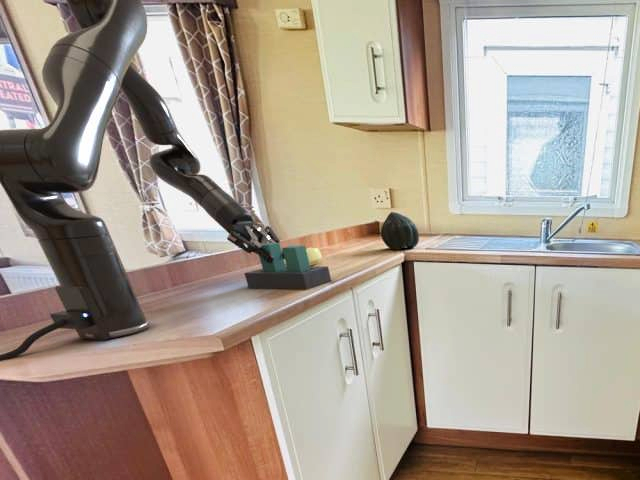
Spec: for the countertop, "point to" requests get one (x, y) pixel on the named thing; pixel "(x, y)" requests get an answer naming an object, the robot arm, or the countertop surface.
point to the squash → (399, 232)
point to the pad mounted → (296, 258)
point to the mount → (288, 278)
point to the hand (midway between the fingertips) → (278, 259)
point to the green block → (278, 258)
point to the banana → (313, 255)
